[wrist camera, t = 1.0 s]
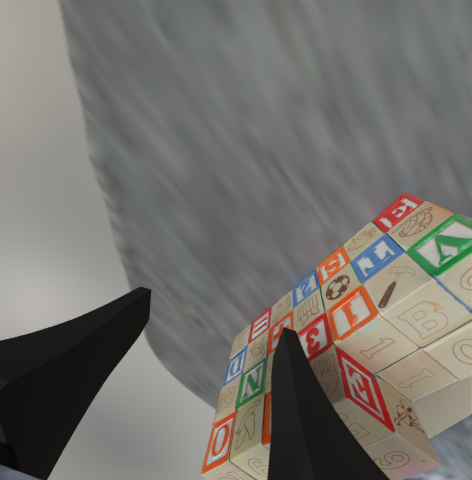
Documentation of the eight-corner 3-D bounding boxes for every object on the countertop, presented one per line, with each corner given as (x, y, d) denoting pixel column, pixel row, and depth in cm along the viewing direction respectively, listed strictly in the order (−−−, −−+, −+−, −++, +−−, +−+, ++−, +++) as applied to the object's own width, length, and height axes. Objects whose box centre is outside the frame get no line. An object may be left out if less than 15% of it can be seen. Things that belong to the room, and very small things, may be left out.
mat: (653, 302, 18) (657, 304, 18) (399, 454, 29) (400, 456, 29) (494, 210, 18) (496, 211, 18) (296, 399, 28) (296, 400, 28)
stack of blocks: (404, 188, 18) (592, 262, 7) (460, 240, 19) (715, 382, 8) (233, 338, 27) (197, 479, 16) (276, 370, 28) (271, 529, 16)
